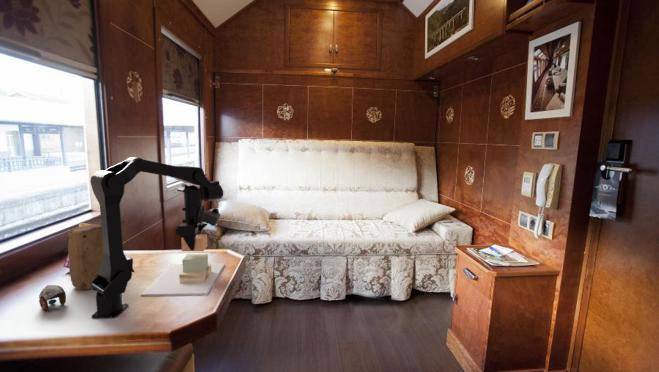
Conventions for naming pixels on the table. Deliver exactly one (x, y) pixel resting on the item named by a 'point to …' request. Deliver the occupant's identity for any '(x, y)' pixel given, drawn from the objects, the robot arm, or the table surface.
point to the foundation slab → (195, 276)
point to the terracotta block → (196, 243)
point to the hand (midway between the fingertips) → (194, 247)
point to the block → (85, 254)
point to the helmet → (51, 296)
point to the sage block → (195, 262)
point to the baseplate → (171, 284)
